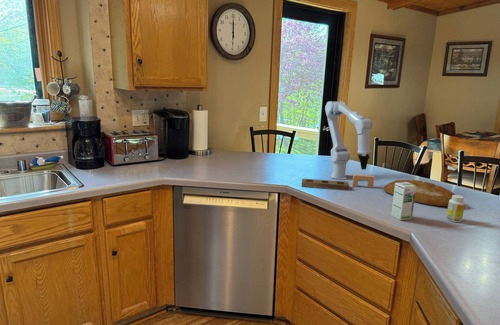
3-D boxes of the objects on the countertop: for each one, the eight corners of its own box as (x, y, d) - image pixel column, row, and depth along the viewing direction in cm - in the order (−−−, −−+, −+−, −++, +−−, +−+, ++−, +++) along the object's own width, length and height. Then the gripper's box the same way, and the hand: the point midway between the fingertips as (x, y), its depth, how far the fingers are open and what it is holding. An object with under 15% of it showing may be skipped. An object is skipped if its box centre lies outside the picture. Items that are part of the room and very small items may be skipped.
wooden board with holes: (301, 182, 181) (302, 178, 180) (347, 186, 178) (347, 181, 177) (301, 186, 174) (301, 182, 174) (349, 190, 171) (349, 185, 170)
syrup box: (400, 220, 135) (405, 186, 131) (390, 215, 140) (395, 182, 137) (412, 219, 136) (417, 185, 133) (402, 214, 142) (406, 181, 138)
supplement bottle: (463, 220, 137) (467, 196, 135) (459, 224, 133) (464, 199, 131) (447, 216, 141) (452, 193, 138) (444, 219, 137) (448, 196, 134)
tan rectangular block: (352, 185, 180) (353, 174, 178) (372, 186, 178) (373, 175, 177) (352, 186, 177) (353, 175, 176) (373, 187, 176) (374, 176, 174)
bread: (389, 187, 179) (391, 171, 177) (465, 203, 157) (469, 185, 155) (377, 194, 166) (379, 177, 164) (459, 214, 144) (463, 194, 142)
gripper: (372, 143, 165) (372, 170, 166) (371, 141, 179) (371, 166, 180) (357, 143, 167) (357, 170, 168) (357, 141, 181) (357, 166, 182)
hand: (363, 168), depth 174 cm, fingers open, 7 cm apart
